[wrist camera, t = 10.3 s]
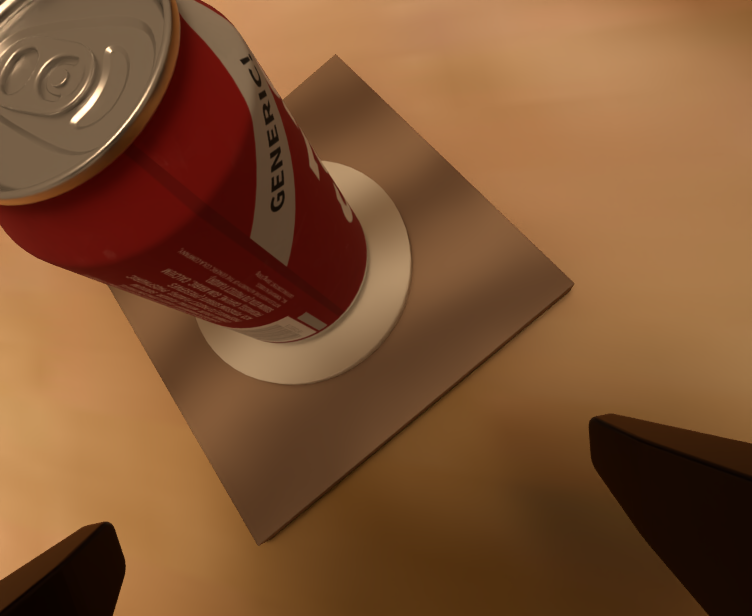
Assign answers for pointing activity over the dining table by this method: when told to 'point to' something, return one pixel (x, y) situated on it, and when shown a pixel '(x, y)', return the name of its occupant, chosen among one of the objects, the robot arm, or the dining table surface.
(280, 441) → the walnut serving board
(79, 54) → the soda can
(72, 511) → the dining table surface
